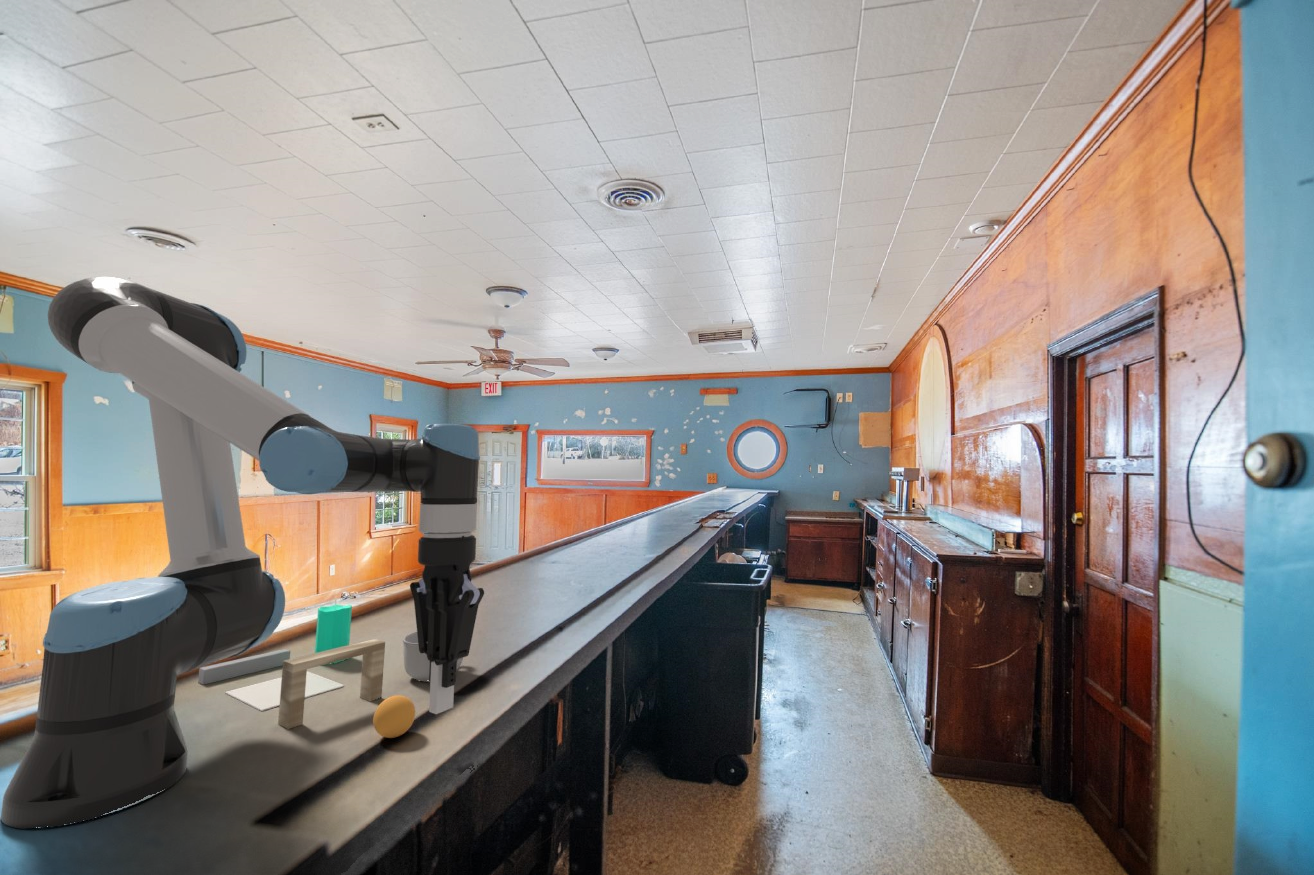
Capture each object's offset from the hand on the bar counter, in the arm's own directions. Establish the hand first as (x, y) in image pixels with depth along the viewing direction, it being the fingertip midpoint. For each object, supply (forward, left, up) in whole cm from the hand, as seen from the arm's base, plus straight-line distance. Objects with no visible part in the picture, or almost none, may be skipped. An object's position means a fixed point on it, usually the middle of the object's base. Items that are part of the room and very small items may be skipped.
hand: (441, 709), depth 75 cm
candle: (+13, +51, -6) cm, 53 cm away
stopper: (0, +56, -6) cm, 56 cm away
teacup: (+20, +27, -6) cm, 34 cm away
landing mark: (0, +41, -6) cm, 41 cm away
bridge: (0, +26, -6) cm, 27 cm away
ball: (0, +10, -3) cm, 10 cm away
